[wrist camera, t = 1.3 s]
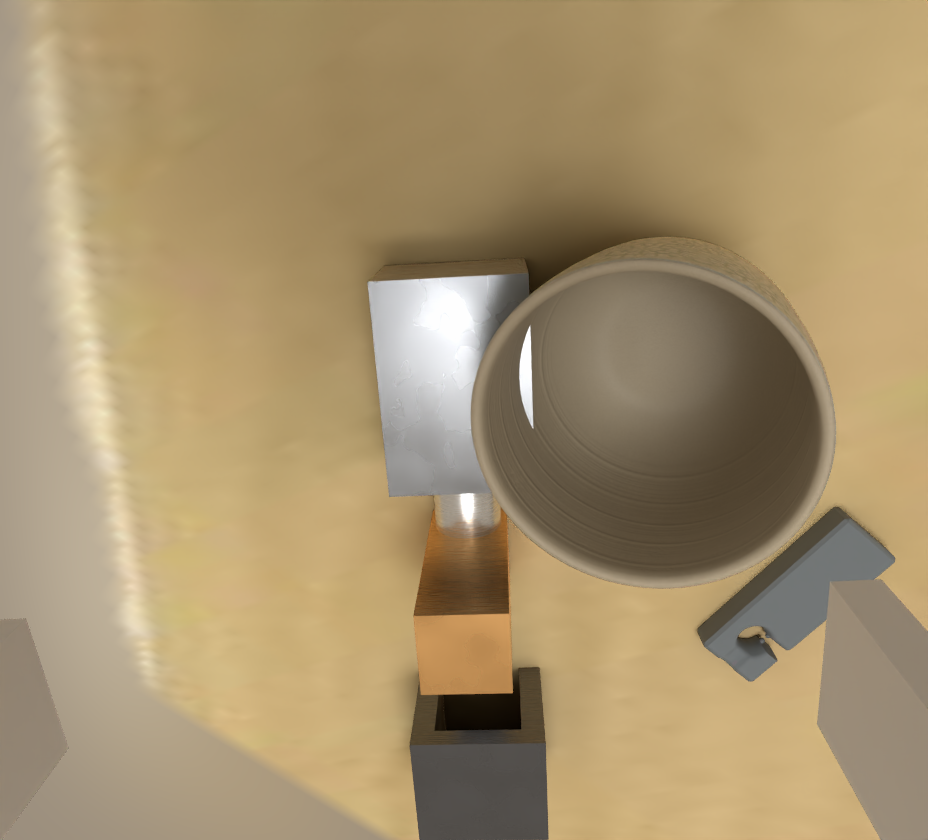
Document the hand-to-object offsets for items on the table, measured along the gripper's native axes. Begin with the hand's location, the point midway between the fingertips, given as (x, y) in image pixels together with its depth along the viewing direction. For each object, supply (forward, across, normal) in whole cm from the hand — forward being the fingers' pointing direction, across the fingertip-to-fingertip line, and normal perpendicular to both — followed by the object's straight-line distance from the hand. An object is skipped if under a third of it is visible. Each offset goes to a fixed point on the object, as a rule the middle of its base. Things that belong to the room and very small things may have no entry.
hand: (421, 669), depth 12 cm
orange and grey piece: (+26, -1, -10) cm, 28 cm away
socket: (+26, -2, -24) cm, 35 cm away
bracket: (+27, +16, -16) cm, 35 cm away
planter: (+25, +9, -1) cm, 26 cm away
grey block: (+26, -1, -2) cm, 26 cm away
